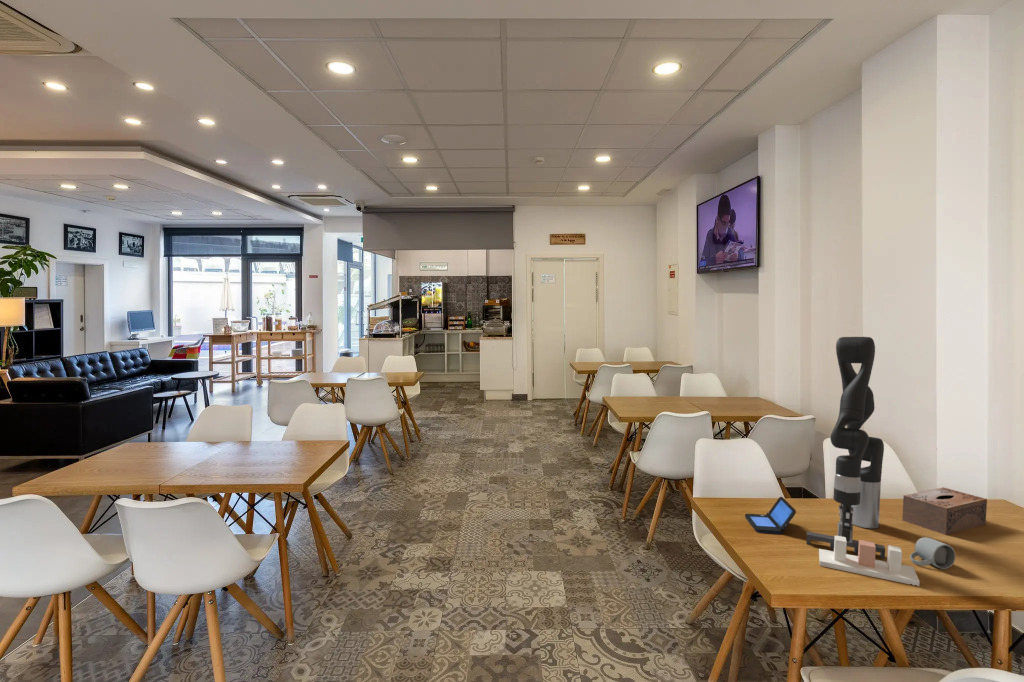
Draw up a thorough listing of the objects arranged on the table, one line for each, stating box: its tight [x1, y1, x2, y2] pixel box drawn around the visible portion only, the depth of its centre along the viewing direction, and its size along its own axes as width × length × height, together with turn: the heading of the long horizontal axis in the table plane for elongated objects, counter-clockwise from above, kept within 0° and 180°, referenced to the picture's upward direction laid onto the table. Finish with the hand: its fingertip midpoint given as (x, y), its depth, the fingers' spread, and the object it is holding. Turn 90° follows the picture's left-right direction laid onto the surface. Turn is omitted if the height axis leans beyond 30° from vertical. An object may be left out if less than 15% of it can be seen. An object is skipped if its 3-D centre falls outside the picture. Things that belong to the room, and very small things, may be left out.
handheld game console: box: [744, 496, 797, 535], centre depth 197 cm, size 16×13×9 cm
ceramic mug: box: [909, 536, 956, 570], centre depth 168 cm, size 11×8×8 cm
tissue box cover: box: [902, 487, 988, 536], centre depth 202 cm, size 26×14×10 cm, turn 113°
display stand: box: [818, 535, 920, 587], centre depth 164 cm, size 10×25×8 cm, turn 61°
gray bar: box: [806, 520, 886, 560], centre depth 177 cm, size 3×22×9 cm, turn 61°
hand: (844, 536), depth 177 cm, fingers open, 7 cm apart
